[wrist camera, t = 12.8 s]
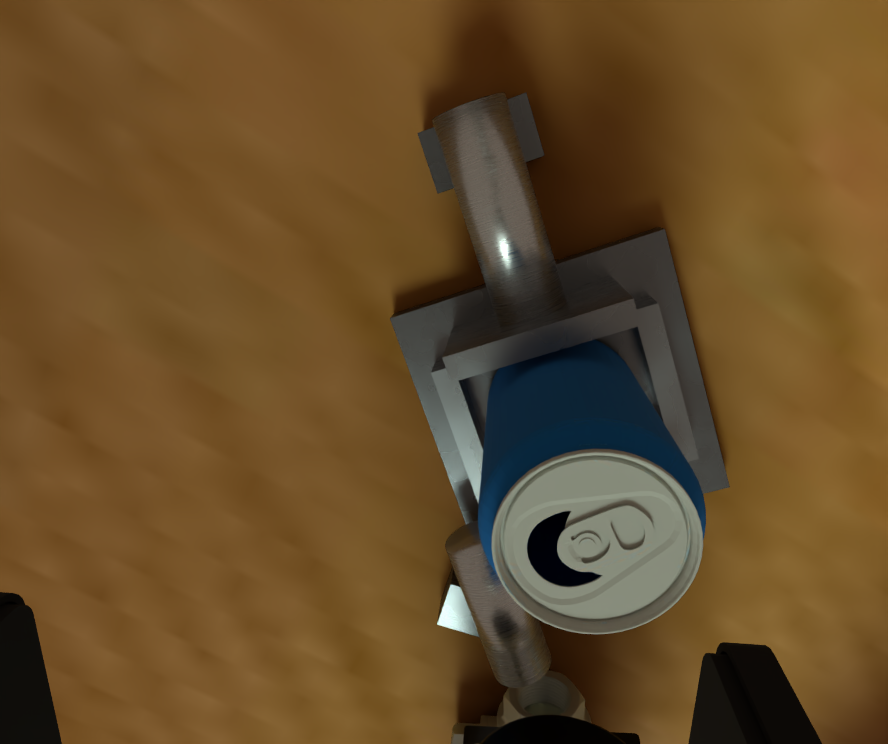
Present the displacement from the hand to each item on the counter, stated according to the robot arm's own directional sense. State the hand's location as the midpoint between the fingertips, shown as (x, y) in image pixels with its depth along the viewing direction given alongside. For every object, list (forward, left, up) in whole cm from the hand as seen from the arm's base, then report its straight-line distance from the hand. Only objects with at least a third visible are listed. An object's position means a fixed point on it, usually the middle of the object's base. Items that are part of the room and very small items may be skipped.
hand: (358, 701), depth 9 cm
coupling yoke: (+3, +2, -22) cm, 22 cm away
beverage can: (+4, +3, -21) cm, 22 cm away
